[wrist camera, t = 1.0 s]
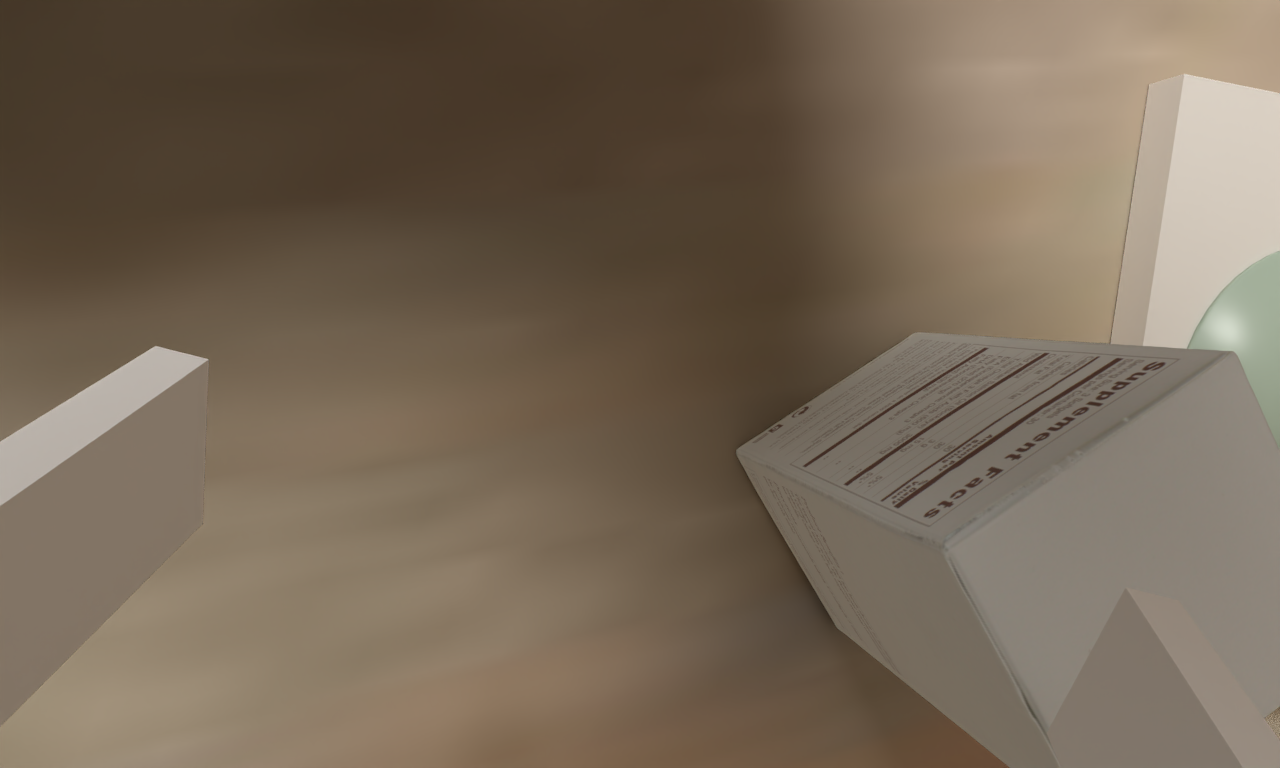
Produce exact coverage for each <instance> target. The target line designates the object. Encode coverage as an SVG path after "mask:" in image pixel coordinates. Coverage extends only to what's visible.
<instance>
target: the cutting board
mask: <svg viewBox="0 0 1280 768" xmlns="http://www.w3.org/2000/svg"><path fill="white" fill-rule="evenodd" d="M1110 344H1120V345H1136V346H1154V347H1169V348H1184V349H1202V350H1219V351H1234V352H1235V353H1236V354H1237V355H1238V358H1239V360H1240V362H1241V365H1242V367H1243V369H1244V372H1245V374H1246V376H1247V379H1248V381H1249V383H1250V385H1251V387H1252V389H1253V391H1254V394H1255V396H1256V398H1257V400H1258V403H1259V405H1260V407H1261V409H1262V412H1263V414H1264V416H1265V418H1266V421H1267V423H1268V425H1269V427H1270V430H1271V432H1272V434H1273V436H1274V439H1275V441H1276V443H1277V445H1278V447H1279V450H1280V93H1276V92H1271V91H1266V90H1261V89H1256V88H1251V87H1246V86H1242V85H1237V84H1232V83H1227V82H1222V81H1217V80H1212V79H1207V78H1202V77H1197V76H1192V75H1187V74H1182V75H1179V76H1176V77H1172V78H1169V79H1166V80H1162V81H1159V82H1156V83H1152V84H1149V89H1148V95H1147V102H1146V109H1145V115H1144V122H1143V129H1142V135H1141V142H1140V148H1139V155H1138V162H1137V168H1136V175H1135V182H1134V188H1133V195H1132V202H1131V208H1130V215H1129V222H1128V228H1127V235H1126V242H1125V248H1124V255H1123V262H1122V268H1121V275H1120V282H1119V288H1118V295H1117V302H1116V308H1115V315H1114V322H1113V328H1112V335H1111V342H1110Z"/></svg>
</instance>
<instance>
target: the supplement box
mask: <svg viewBox="0 0 1280 768" xmlns="http://www.w3.org/2000/svg"><path fill="white" fill-rule="evenodd" d="M736 455H737V457H738V459H739V461H740V462H741V464H742V466H743V468H744V469H745V471H746V473H747V475H748V477H749V479H750V480H751V482H752V484H753V486H754V488H755V490H756V491H757V493H758V495H759V496H760V498H761V500H762V502H763V503H764V505H765V507H766V508H767V510H768V512H769V514H770V515H771V517H772V519H773V521H774V522H775V524H776V526H777V527H778V529H779V531H780V532H781V534H782V536H783V538H784V539H785V541H786V543H787V544H788V546H789V548H790V549H791V551H792V553H793V554H794V556H795V558H796V560H797V561H798V563H799V565H800V566H801V568H802V570H803V571H804V573H805V575H806V576H807V578H808V580H809V582H810V583H811V585H812V587H813V588H814V590H815V592H816V593H817V595H818V597H819V598H820V600H821V602H822V603H823V605H824V607H825V609H826V610H827V612H828V614H829V615H830V617H831V619H832V620H833V622H834V624H835V626H836V628H837V629H838V630H840V631H842V632H843V633H844V634H846V635H847V636H848V637H849V638H850V639H852V640H853V641H854V642H855V643H857V644H858V645H859V646H860V647H861V648H862V649H864V650H865V651H866V652H867V653H869V654H870V655H871V656H872V657H874V658H875V659H876V660H878V661H879V662H880V663H881V664H883V665H884V666H885V667H886V668H887V669H889V670H890V671H891V672H893V673H894V674H895V675H896V676H897V677H899V678H900V679H901V680H902V681H903V682H905V683H906V684H907V685H908V686H910V687H911V688H912V689H913V690H915V691H916V692H917V693H918V694H920V695H921V696H922V697H923V698H925V699H926V700H927V701H928V702H929V703H931V704H932V705H933V706H934V707H936V708H937V709H938V710H939V711H940V712H942V713H943V714H944V715H945V716H947V717H948V718H949V719H950V720H952V721H953V722H954V723H955V724H957V725H958V726H959V727H960V728H962V729H963V730H964V731H965V732H967V733H968V734H969V735H970V736H971V737H973V738H974V739H975V740H976V741H977V742H979V743H980V744H981V745H982V746H984V747H985V748H986V749H987V750H989V751H990V752H991V753H992V754H994V755H995V756H996V757H997V758H999V759H1000V760H1001V761H1002V762H1003V763H1005V764H1006V765H1007V766H1008V767H1010V768H1061V766H1060V764H1059V762H1058V759H1057V757H1056V754H1055V752H1054V750H1053V747H1052V745H1051V742H1050V740H1049V738H1048V735H1047V731H1048V730H1049V728H1050V726H1051V724H1052V722H1053V720H1054V719H1055V717H1056V715H1057V713H1058V711H1059V709H1060V707H1061V706H1062V704H1063V702H1064V700H1065V698H1066V696H1067V695H1068V693H1069V691H1070V689H1071V687H1072V685H1073V683H1074V682H1075V680H1076V678H1077V676H1078V674H1079V672H1080V671H1081V669H1082V667H1083V665H1084V663H1085V661H1086V660H1087V658H1088V656H1089V654H1090V652H1091V650H1092V648H1093V647H1094V645H1095V643H1096V641H1097V639H1098V637H1099V636H1100V634H1101V632H1102V630H1103V628H1104V626H1105V624H1106V623H1107V621H1108V619H1109V617H1110V615H1111V613H1112V612H1113V610H1114V608H1115V606H1116V604H1117V602H1118V600H1119V599H1120V597H1121V595H1122V593H1123V591H1124V589H1125V588H1126V587H1127V588H1131V589H1135V590H1139V591H1143V592H1147V593H1151V594H1155V595H1159V596H1163V597H1167V598H1171V599H1175V600H1179V601H1180V602H1181V604H1182V605H1183V607H1184V608H1185V609H1186V611H1187V612H1188V613H1189V615H1190V616H1191V618H1192V619H1193V620H1194V622H1195V623H1196V625H1197V626H1198V627H1199V629H1200V630H1201V631H1202V633H1203V634H1204V636H1205V637H1206V638H1207V640H1208V641H1209V643H1210V644H1211V645H1212V647H1213V648H1214V649H1215V651H1216V652H1217V654H1218V655H1219V656H1220V658H1221V659H1222V661H1223V662H1224V663H1225V665H1226V666H1227V668H1228V669H1229V670H1230V672H1231V673H1232V674H1233V676H1234V677H1235V679H1236V680H1237V681H1238V683H1239V684H1240V686H1241V687H1242V688H1243V690H1244V691H1245V692H1246V694H1247V695H1248V697H1249V698H1250V699H1251V701H1252V702H1253V704H1254V705H1255V706H1256V708H1257V709H1258V710H1259V712H1260V713H1261V715H1262V716H1263V717H1264V718H1266V717H1267V716H1268V715H1270V714H1271V713H1272V712H1273V711H1275V710H1276V709H1277V708H1278V707H1280V450H1279V447H1278V445H1277V443H1276V441H1275V439H1274V436H1273V434H1272V432H1271V430H1270V427H1269V425H1268V423H1267V421H1266V418H1265V416H1264V414H1263V412H1262V409H1261V407H1260V405H1259V403H1258V400H1257V398H1256V396H1255V394H1254V391H1253V389H1252V387H1251V385H1250V383H1249V381H1248V379H1247V376H1246V374H1245V372H1244V369H1243V367H1242V365H1241V362H1240V360H1239V358H1238V355H1237V354H1236V353H1235V352H1234V351H1219V350H1202V349H1184V348H1169V347H1154V346H1136V345H1120V344H1106V343H1087V342H1071V341H1051V340H1035V339H1021V338H1005V337H991V336H973V335H960V334H943V333H926V332H916V333H913V334H911V335H910V336H909V337H907V338H906V339H905V340H903V341H902V342H900V343H899V344H897V345H895V346H894V347H892V348H891V349H889V350H887V351H886V352H884V353H883V354H881V355H880V356H878V357H877V358H875V359H874V360H872V361H871V362H869V363H868V364H866V365H864V366H863V367H861V368H860V369H858V370H857V371H855V372H854V373H852V374H851V375H849V376H848V377H846V378H844V379H843V380H842V381H840V382H838V383H837V384H835V385H834V386H832V387H831V388H829V389H828V390H826V391H825V392H823V393H821V394H820V395H818V396H817V397H815V398H814V399H812V400H811V401H809V402H808V403H806V404H805V405H803V406H802V407H800V408H798V409H797V410H795V411H794V412H792V413H791V414H789V415H787V416H786V417H785V418H783V419H782V420H780V421H779V422H777V423H775V424H774V425H772V426H771V427H769V428H768V429H767V430H765V431H764V432H762V433H760V434H759V435H757V436H756V437H754V438H753V439H751V440H750V441H748V442H747V443H745V444H744V445H742V446H741V447H739V448H738V449H737V450H736Z"/></svg>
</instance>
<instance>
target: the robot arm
mask: <svg viewBox="0 0 1280 768" xmlns="http://www.w3.org/2000/svg"><path fill="white" fill-rule="evenodd" d="M208 372H209V359H206V358H202V357H198V356H194V355H190V354H186V353H182V352H178V351H174V350H170V349H166V348H162V347H158V346H155V347H153V348H151V349H150V350H148V351H146V352H145V353H143V354H142V355H140V356H138V357H137V358H135V359H133V360H132V361H130V362H129V363H127V364H125V365H124V366H122V367H120V368H119V369H117V370H116V371H114V372H112V373H111V374H109V375H107V376H106V377H104V378H103V379H101V380H99V381H98V382H96V383H94V384H93V385H91V386H90V387H88V388H86V389H85V390H83V391H81V392H80V393H78V394H77V395H75V396H73V397H72V398H70V399H68V400H67V401H65V402H64V403H62V404H60V405H59V406H57V407H55V408H54V409H52V410H51V411H49V412H47V413H46V414H44V415H42V416H41V417H39V418H38V419H36V420H34V421H33V422H31V423H29V424H28V425H26V426H25V427H23V428H21V429H20V430H18V431H16V432H15V433H13V434H12V435H10V436H8V437H7V438H5V439H3V440H2V441H0V726H1V725H2V724H3V723H4V722H5V721H6V720H7V719H8V718H9V717H10V716H11V715H12V714H13V713H14V712H15V711H16V710H17V709H18V708H19V707H20V706H21V705H22V704H23V703H24V702H25V701H26V700H27V699H28V698H29V697H30V696H31V695H32V694H33V693H34V692H35V691H36V690H37V689H38V688H39V687H40V686H41V685H42V684H43V683H44V682H45V681H46V680H47V679H48V678H49V677H50V676H51V675H52V674H53V673H54V672H55V671H56V670H57V669H58V668H59V667H60V666H61V665H62V664H63V663H64V662H65V661H66V660H67V659H68V658H69V657H70V656H71V655H72V654H73V653H74V652H75V651H76V650H77V649H78V648H79V647H80V646H81V645H82V644H83V643H84V642H85V641H86V640H87V639H88V638H89V637H90V636H91V635H92V634H93V633H94V632H95V631H96V630H97V629H98V628H99V627H100V626H101V625H102V624H103V623H104V622H105V621H106V620H107V619H108V618H109V617H110V616H111V615H112V614H113V613H114V612H115V611H116V610H117V609H118V608H119V607H120V606H121V605H122V604H123V603H124V602H125V601H126V600H127V599H128V598H129V597H130V596H131V595H132V594H133V593H134V592H135V591H136V590H137V589H138V588H139V587H140V586H141V585H142V584H143V583H144V582H145V581H146V580H147V579H148V578H149V577H150V576H151V575H152V574H153V573H154V572H155V571H156V570H157V569H158V568H159V567H160V566H161V565H162V564H163V563H164V562H165V561H166V560H167V559H168V558H169V557H170V556H171V555H172V554H173V553H174V552H175V551H176V550H177V549H178V548H179V547H180V546H181V545H182V544H183V543H184V542H185V541H186V540H187V539H188V538H189V537H190V536H191V535H192V534H193V533H194V532H195V531H196V530H197V529H198V528H199V527H200V526H201V525H202V524H203V506H204V479H205V453H206V426H207V399H208ZM1047 735H1048V738H1049V740H1050V742H1051V745H1052V747H1053V750H1054V752H1055V754H1056V757H1057V759H1058V762H1059V764H1060V766H1061V768H1280V740H1279V738H1278V737H1277V735H1276V734H1275V733H1274V731H1273V730H1272V728H1271V727H1270V726H1269V724H1268V723H1267V722H1266V720H1265V719H1264V717H1263V716H1262V715H1261V713H1260V712H1259V710H1258V709H1257V708H1256V706H1255V705H1254V704H1253V702H1252V701H1251V699H1250V698H1249V697H1248V695H1247V694H1246V692H1245V691H1244V690H1243V688H1242V687H1241V686H1240V684H1239V683H1238V681H1237V680H1236V679H1235V677H1234V676H1233V674H1232V673H1231V672H1230V670H1229V669H1228V668H1227V666H1226V665H1225V663H1224V662H1223V661H1222V659H1221V658H1220V656H1219V655H1218V654H1217V652H1216V651H1215V649H1214V648H1213V647H1212V645H1211V644H1210V643H1209V641H1208V640H1207V638H1206V637H1205V636H1204V634H1203V633H1202V631H1201V630H1200V629H1199V627H1198V626H1197V625H1196V623H1195V622H1194V620H1193V619H1192V618H1191V616H1190V615H1189V613H1188V612H1187V611H1186V609H1185V608H1184V607H1183V605H1182V604H1181V602H1180V601H1179V600H1175V599H1171V598H1167V597H1163V596H1159V595H1155V594H1151V593H1147V592H1143V591H1139V590H1135V589H1131V588H1127V587H1126V588H1125V589H1124V591H1123V593H1122V595H1121V597H1120V599H1119V600H1118V602H1117V604H1116V606H1115V608H1114V610H1113V612H1112V613H1111V615H1110V617H1109V619H1108V621H1107V623H1106V624H1105V626H1104V628H1103V630H1102V632H1101V634H1100V636H1099V637H1098V639H1097V641H1096V643H1095V645H1094V647H1093V648H1092V650H1091V652H1090V654H1089V656H1088V658H1087V660H1086V661H1085V663H1084V665H1083V667H1082V669H1081V671H1080V672H1079V674H1078V676H1077V678H1076V680H1075V682H1074V683H1073V685H1072V687H1071V689H1070V691H1069V693H1068V695H1067V696H1066V698H1065V700H1064V702H1063V704H1062V706H1061V707H1060V709H1059V711H1058V713H1057V715H1056V717H1055V719H1054V720H1053V722H1052V724H1051V726H1050V728H1049V730H1048V731H1047Z"/></svg>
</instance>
